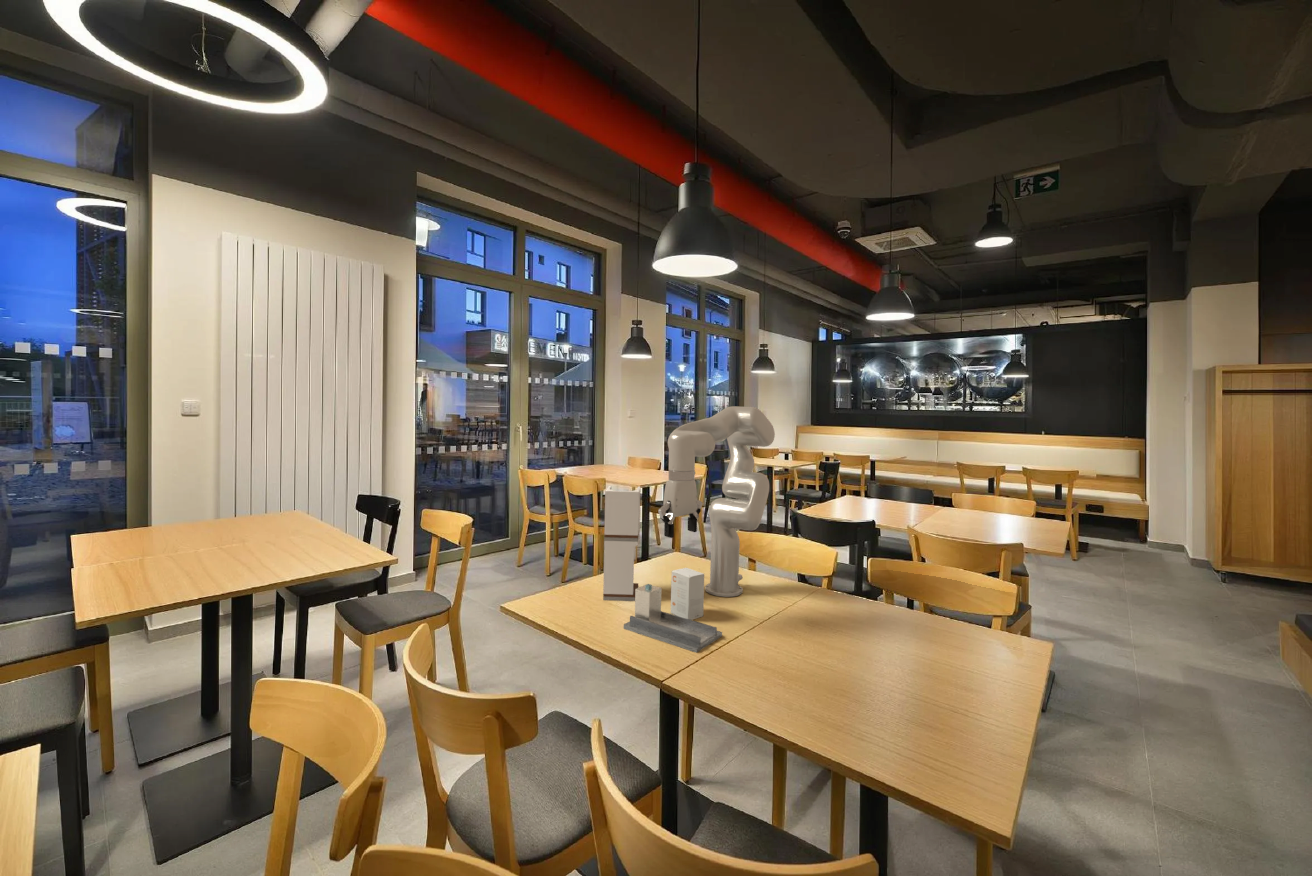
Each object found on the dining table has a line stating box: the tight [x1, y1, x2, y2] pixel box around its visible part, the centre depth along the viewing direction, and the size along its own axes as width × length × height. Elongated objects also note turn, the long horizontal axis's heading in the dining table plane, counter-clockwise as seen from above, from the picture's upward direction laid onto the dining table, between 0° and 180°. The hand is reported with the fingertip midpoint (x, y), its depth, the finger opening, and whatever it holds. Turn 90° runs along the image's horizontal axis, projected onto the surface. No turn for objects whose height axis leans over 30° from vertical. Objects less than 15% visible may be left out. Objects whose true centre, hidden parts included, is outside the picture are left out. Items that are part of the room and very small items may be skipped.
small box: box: [670, 567, 705, 621], centre depth 167 cm, size 8×6×13 cm
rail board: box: [623, 583, 723, 654], centre depth 154 cm, size 13×24×12 cm, turn 54°
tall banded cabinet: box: [602, 485, 641, 602], centre depth 183 cm, size 11×11×35 cm
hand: (680, 534), depth 163 cm, fingers open, 9 cm apart
